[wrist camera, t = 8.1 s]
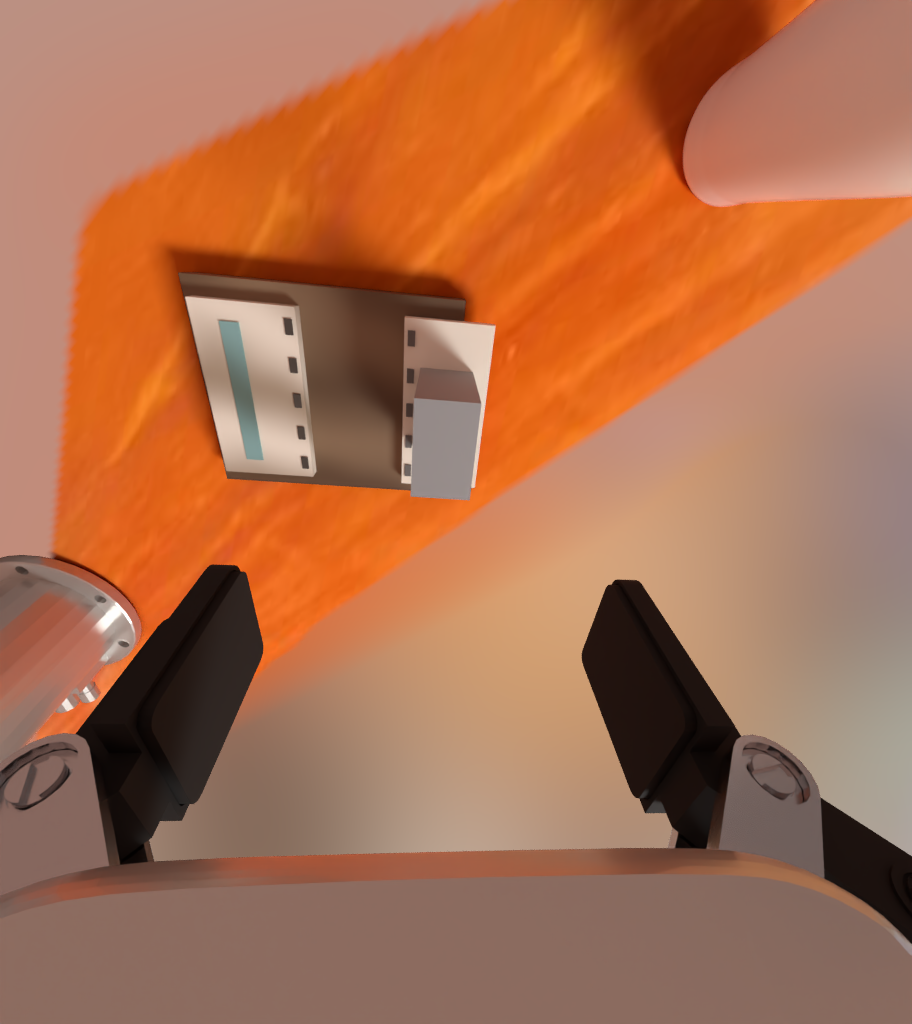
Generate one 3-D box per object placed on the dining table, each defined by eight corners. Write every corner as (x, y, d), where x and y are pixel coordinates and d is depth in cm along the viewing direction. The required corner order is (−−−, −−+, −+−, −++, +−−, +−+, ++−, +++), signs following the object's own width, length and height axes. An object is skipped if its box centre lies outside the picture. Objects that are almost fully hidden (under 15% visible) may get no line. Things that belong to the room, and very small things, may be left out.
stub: (473, 482, 28) (481, 540, 22) (402, 477, 27) (391, 535, 21) (493, 324, 22) (511, 345, 17) (405, 315, 22) (392, 334, 16)
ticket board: (448, 482, 29) (448, 499, 27) (237, 468, 28) (221, 484, 26) (464, 298, 23) (466, 302, 21) (193, 272, 22) (167, 272, 20)
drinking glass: (688, 255, 22) (1017, 245, 9) (641, 119, 19) (1029, -159, 6) (819, 160, 20) (1457, -11, 7) (789, -7, 17) (1771, -766, 4)
